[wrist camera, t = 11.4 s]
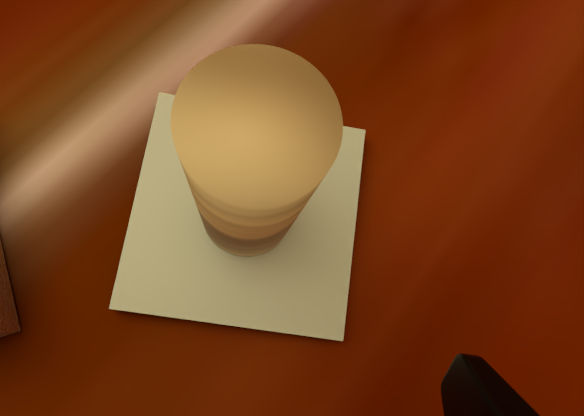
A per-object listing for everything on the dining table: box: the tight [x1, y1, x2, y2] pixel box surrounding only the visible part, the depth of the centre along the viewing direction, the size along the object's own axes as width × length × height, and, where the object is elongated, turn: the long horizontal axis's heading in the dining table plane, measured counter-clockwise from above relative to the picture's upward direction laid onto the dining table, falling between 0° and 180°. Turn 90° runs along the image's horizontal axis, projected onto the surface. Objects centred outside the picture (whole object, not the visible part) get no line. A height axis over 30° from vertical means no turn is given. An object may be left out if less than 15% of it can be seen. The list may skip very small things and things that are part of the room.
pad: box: [109, 92, 365, 341], centre depth 20 cm, size 10×10×1 cm
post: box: [171, 44, 343, 257], centre depth 15 cm, size 4×4×10 cm
